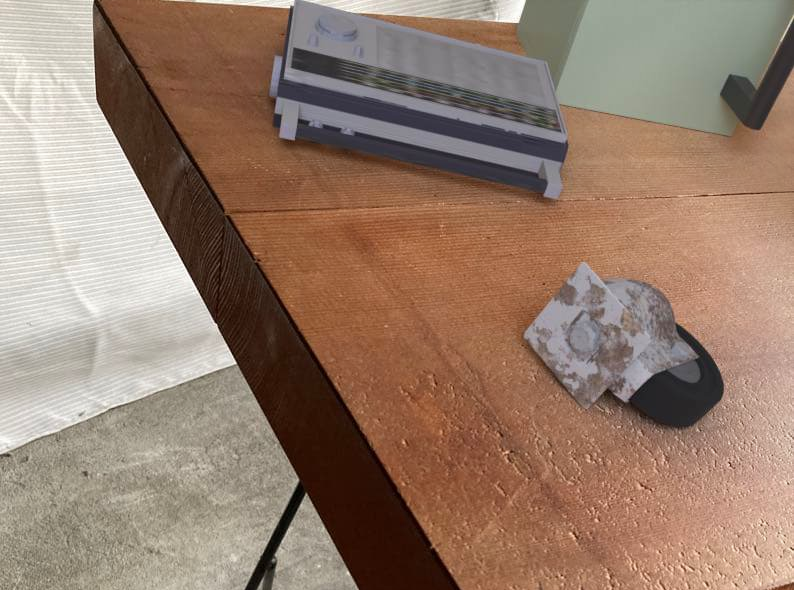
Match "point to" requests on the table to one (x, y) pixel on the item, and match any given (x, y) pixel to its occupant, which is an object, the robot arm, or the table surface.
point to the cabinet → (548, 30)
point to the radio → (418, 98)
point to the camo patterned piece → (625, 348)
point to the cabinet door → (679, 61)
